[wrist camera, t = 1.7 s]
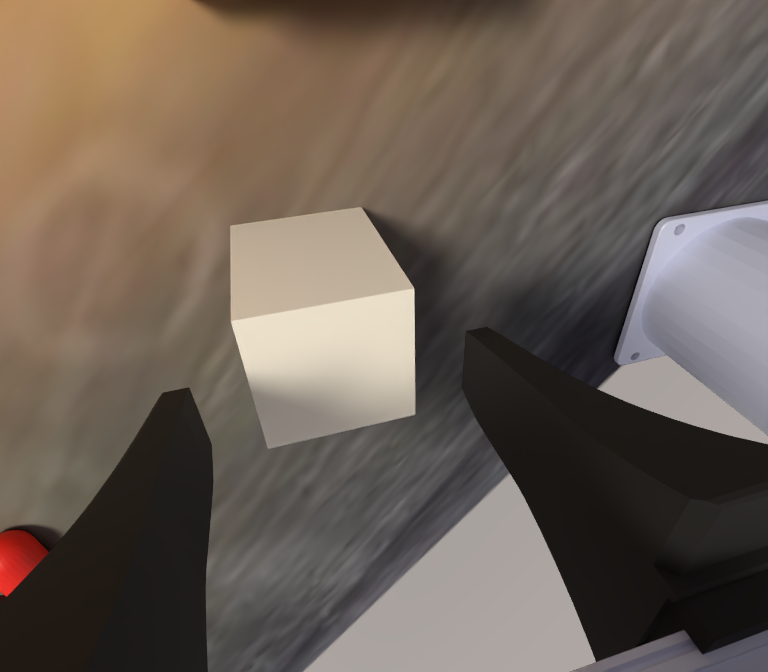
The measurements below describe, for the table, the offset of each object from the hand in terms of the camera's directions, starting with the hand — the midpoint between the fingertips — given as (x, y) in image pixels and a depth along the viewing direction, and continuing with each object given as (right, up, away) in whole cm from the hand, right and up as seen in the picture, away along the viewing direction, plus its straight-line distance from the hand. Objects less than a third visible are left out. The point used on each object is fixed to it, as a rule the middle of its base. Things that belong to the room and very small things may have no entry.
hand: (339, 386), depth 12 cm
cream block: (-2, +4, +5) cm, 6 cm away
